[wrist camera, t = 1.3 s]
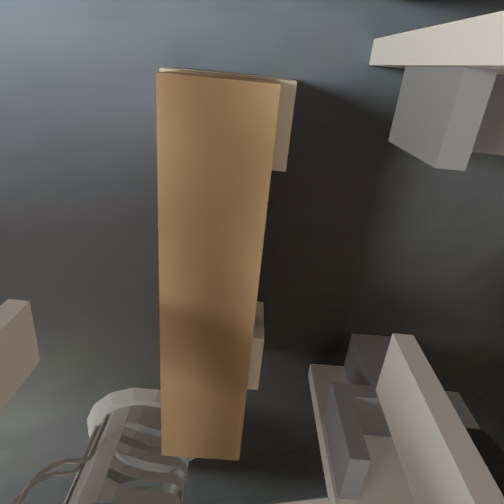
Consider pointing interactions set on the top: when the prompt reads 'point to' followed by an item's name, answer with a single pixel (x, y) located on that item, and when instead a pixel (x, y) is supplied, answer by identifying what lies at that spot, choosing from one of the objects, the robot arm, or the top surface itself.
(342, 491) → the brackets
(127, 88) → the top surface
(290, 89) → the spacers
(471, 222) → the top surface
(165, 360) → the rail
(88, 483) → the french press
